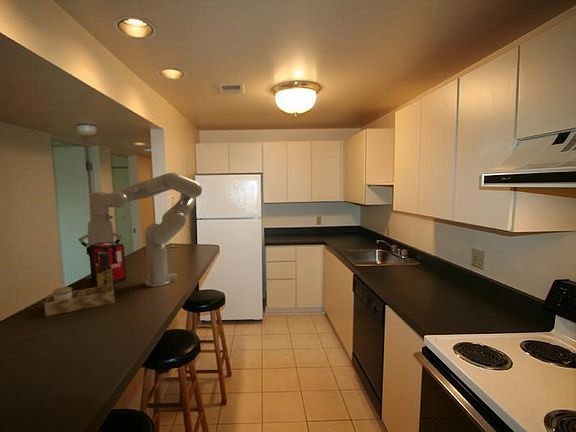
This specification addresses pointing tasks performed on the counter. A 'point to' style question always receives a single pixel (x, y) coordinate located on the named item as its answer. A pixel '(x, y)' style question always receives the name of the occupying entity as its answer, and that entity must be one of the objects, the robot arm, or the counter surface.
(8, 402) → the counter surface
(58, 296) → the jar
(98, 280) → the sauce bottle
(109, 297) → the caddy
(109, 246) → the cleaning product box
